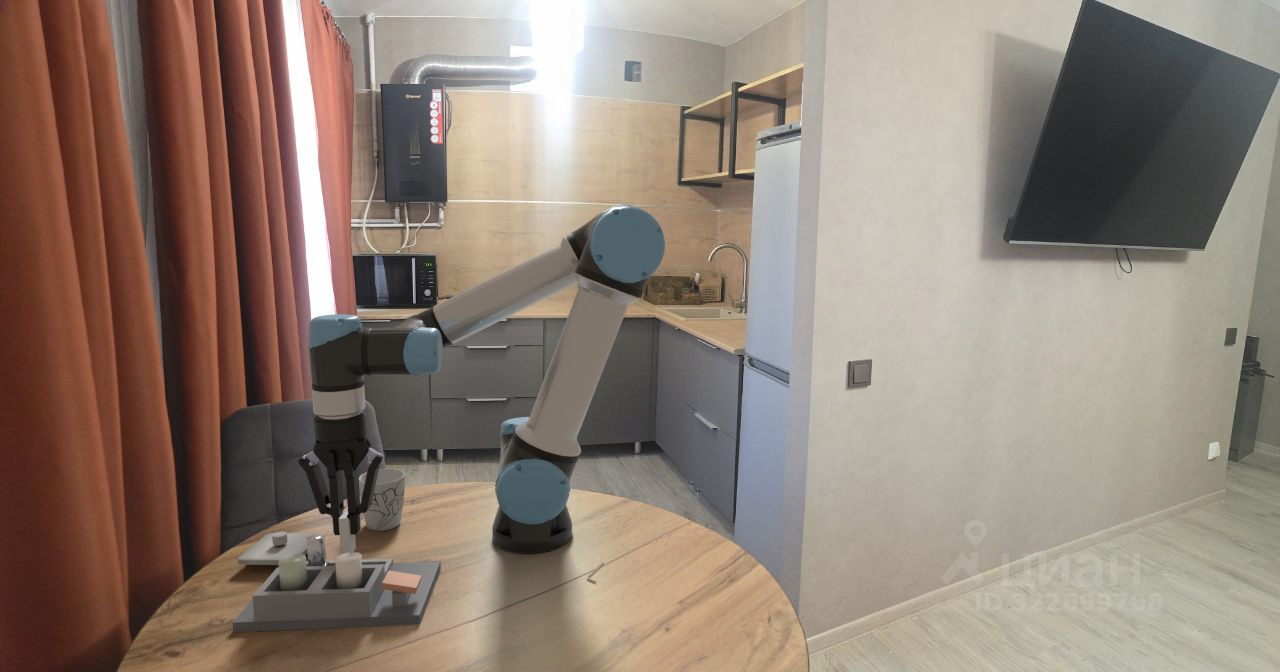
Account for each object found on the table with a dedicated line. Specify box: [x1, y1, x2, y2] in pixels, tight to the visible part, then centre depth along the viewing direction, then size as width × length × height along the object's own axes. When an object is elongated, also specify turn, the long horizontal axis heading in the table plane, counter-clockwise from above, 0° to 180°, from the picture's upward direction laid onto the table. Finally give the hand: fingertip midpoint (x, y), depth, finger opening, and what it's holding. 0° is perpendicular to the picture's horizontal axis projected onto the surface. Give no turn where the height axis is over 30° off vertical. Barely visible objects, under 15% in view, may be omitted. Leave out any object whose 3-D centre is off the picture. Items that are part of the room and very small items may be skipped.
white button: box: [334, 551, 363, 589], centre depth 98 cm, size 4×4×4 cm
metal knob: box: [307, 533, 330, 567], centre depth 107 cm, size 3×3×6 cm
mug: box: [359, 468, 406, 532], centre depth 130 cm, size 11×8×10 cm
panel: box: [231, 558, 442, 633], centre depth 103 cm, size 26×16×6 cm, turn 96°
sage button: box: [278, 554, 307, 591], centre depth 98 cm, size 4×4×4 cm
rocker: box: [381, 571, 421, 594], centre depth 100 cm, size 5×4×1 cm
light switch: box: [237, 531, 315, 566], centre depth 114 cm, size 10×10×5 cm
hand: (348, 552), depth 107 cm, fingers closed
